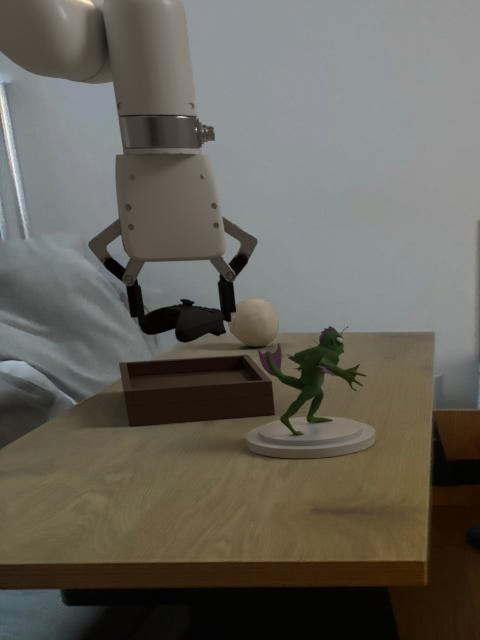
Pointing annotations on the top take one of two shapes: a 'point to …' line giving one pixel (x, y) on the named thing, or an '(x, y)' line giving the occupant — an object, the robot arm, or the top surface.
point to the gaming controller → (185, 321)
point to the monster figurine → (311, 407)
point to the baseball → (254, 322)
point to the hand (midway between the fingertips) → (184, 321)
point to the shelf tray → (195, 389)
